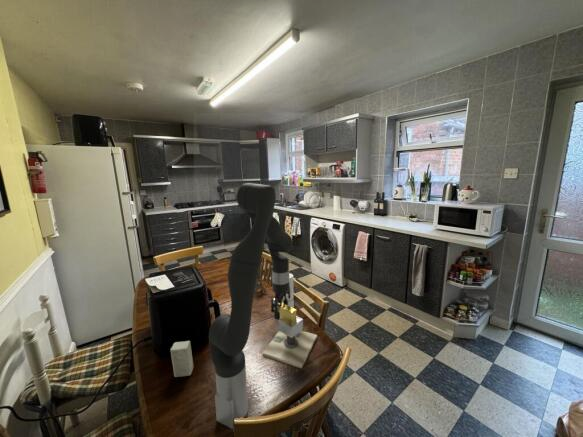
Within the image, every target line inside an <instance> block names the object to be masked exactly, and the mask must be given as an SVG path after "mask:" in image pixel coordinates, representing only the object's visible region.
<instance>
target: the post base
mask: <svg viewBox="0 0 583 437" xmlns="http://www.w3.org/2000/svg"><path fill="white" fill-rule="evenodd" d="M317 339H318V334H315V333H311V332H308V331H305V330H304V331H303V330H301V331H300V332H299V333H298V334H296V335H295V336H294V337H292V338H291V337H289V336H287V335H286V334H284V333H282V332H281V331H279V330H278V331H277V332H276V334H275V336H274V337H273V338H272V339H271V341H270V342H269V344H268V345H267V346H266V347H265V349H264V350H263V352H262V356H264V357H267V358H270V359H273V360H275V361H279V362H281V363H285V364H288V365H290V366H293V367H296V368H299V369H302V368H303V366H304V365H305V362H306V361H307V358H308V356H309V354H310V353H311V350H312V348H313V346H314V345H315V342H316V340H317Z"/></svg>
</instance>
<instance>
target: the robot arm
mask: <svg viewBox="0 0 583 437" xmlns="http://www.w3.org/2000/svg"><path fill="white" fill-rule="evenodd" d="M276 197H277V194H276V190H275V188H274V186H272V185H269V184H261V183H252V182H246V183H242V184H241V185H240V187H239V188H238V189H237V192H236V203H237V204H238V205H237V206H238V207H239V209H240V210H242V212H244V213H245V214H246V215H247V216H248V217H249V218H250V220H252V221H253V224H252V226H251V229H250V230H249V232H248V233H247V234H246V235H245V237H244V238H243V239H242V240H241V241H240V242H239V243H238V244H236V246H235V248H234V249H233V251H232V252H231V257H230V259H229V264H228V271H227V282H228V283H227V284H228V289H229V295H230V301H231V302H230V304H231V306H230V308H231V310H230V314H229V313H223V314H220V315H219V316H217V317H216V318H215V319H214V320H213V321H212V323H211V326H210V328H209V331H208V332H209V333H208V341H209V342H208V343H209V350H210V357H211V358H210V359H211V361H212V362H211V363H213V367H214V373H215V384H216V386H215V387H216V393H215V395H214V403H215V404H214V406H215V413H216V415H215V417H216V421H217V422H218V423H220V424H222V425H224V426H226V427H228V428H230V429H234V427H233V420H234V419H235V418H240V417H245V418H246V417H247V414H248V410H249V404H248V387H247V385H248V384H247V367H246V355H245V353H244V351H243V350H244V349H245V347H246V345H247V342H248V339H249V336H250V331H251V323H252V312H253V303H254V298H255V297H254V293H255V287H256V282H257V278H258V274H259V269H260V268H261V264H262V258H263V254H264V253H263V251H264V247H265V242H266V239H267V248H268V252H269V255H270V259H271V261H272V263H271V264H272V273H271V275H272V276H271V279H272V280H271V281H272V283H271V284H272V291H273V293H274V294H275V296H274V297H273V298H271V299H270V300H271V302H270V304H271V305H270V307H271V310H270V311H271V313H274V320H278V321H279V320H280V307H282V304H283V303H284V304H286V305H288V301H289V298H290V281H289V273H290V267H289V266H290V265H289V264H290V263H289V261H290V260H289V258H288V257H287V256H285V255H283V254H281V253H289V252H290V251H291V250H292V249H293V247H294V246H293V245H294V242H293V238H292V237H291V236H290V235H289V233H287V232H286V231H285V230H284V229H283V227H282V225H281V224H280V223H281V222H279V220H278V219H277V218H275V217H274V216H273V213H274V208H275V205H276V199H277V198H276ZM287 294H288V295H287Z"/></svg>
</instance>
